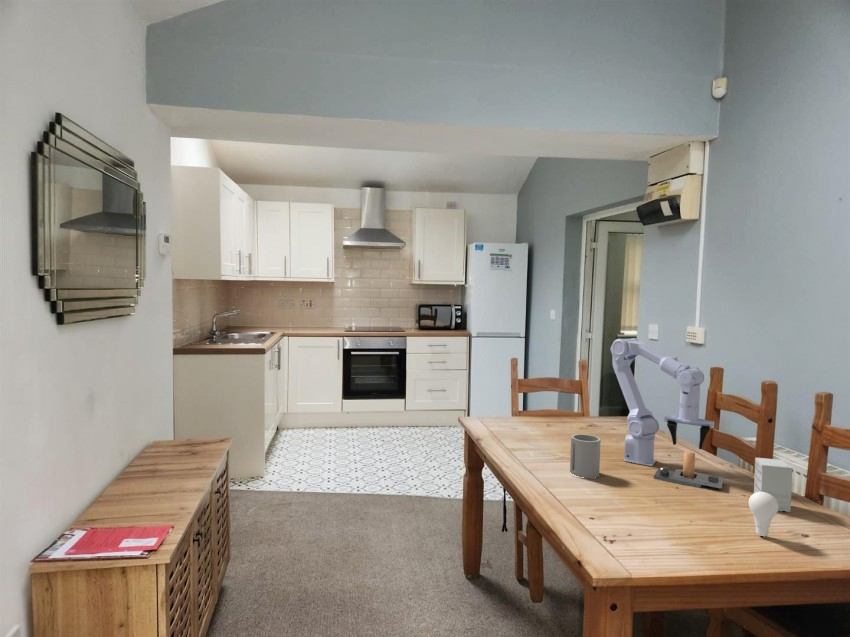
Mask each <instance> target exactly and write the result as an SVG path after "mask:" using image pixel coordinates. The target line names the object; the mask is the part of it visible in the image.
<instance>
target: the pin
mask: <svg viewBox="0 0 850 637" xmlns="http://www.w3.org/2000/svg"><path fill="white" fill-rule="evenodd" d="M695 462H696V453H694V452H692V451H684V452H683V463H682V464H683V465H682V470H683V476H684V477H690V478H694V472H695Z"/></svg>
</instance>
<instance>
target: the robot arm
mask: <svg viewBox="0 0 850 637" xmlns="http://www.w3.org/2000/svg"><path fill="white" fill-rule="evenodd" d="M609 349H610V352H611V356H612V368H613V371H614V373H615V375H616V379H617V381H618V384H619V387H620V389H621V392H622V396H623V397H624V400H625V402H626V405H627V408H628V411H629V413H628V415H627V417H626V419H627V422H628V425H627V426H628V427H627V428H628V431H629V433H630V434H626V436H625V439H624V451H623V452H624V456H623V457H624V458H623V461H624V462H626V463H631V462H632V463H633V464H637V465H638V464H639V465H643V466H649V467H653V466H654V465H655V463H656V462H657V459H656V458H654V457H655V456H654V455H655V438H656V434H657V433H658V432H659V430H660V424H659V421H658V420H657V419H656V418H655V417H654V415H653V412H652V411H651V410H650V409H648V408H647V406H646V405H645V402H644V400H643V398H642V397H643V396H642V395H641V392H640V390H639V387H638V385H637V381H636V379H635V377H634V374H633V372H632V368H631V364H632V363H633V360H635V359H636V358H637V357H638V356H641V357H643V358H645V359H647V360H649V361H651V362H653V363H655V364H657V365H659V368H660V370H661V371H662V372H664V373H665V374H667V375H668V376H670V377H672V378H673V379H675V380H677V383H678V384H679V391H680V393H679V410H678V415H671V414H670V415H669V414H664V416H663V422H665V423H666V422H667V423H666V426H667V428H668V430H669V433H670V436H671V439H672V440H671V441H672V445H673V446H676V445H677V430H678V424H682V425H690V426H695V427H700V428H699V444H698V449H699V450H702V449H703V445H704V442H705V439H706V436H707V434H708V433H709V431H710V429H715V421H714V420H707V419H704V418H703V419H702V418H700V417H699V416H700V403H701V402H700V400H701V398H700V397H701V385H702V384H703V383H704V381H705V374H704V373H703V371H702V370H701V369H700V368H699V367H691V366H690V364H688V363H685V362H682V361H681V360H679V359H678V357H677V356H673V355H672V356H671V355H668V356H665V355H663V354H662V353H660V352H658V351H657V350H656V349H653V348H652V346H651V347H650V346H649V345H648V344H646V343H645V342H644V341H642V340H640V339H638V338H636V337H633V338H617V339H615V340H614V341H613V342H612V344H611V347H610V348H609ZM632 463H631V464H632Z"/></svg>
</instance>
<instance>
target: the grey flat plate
mask: <svg viewBox="0 0 850 637" xmlns="http://www.w3.org/2000/svg"><path fill="white" fill-rule="evenodd" d="M653 479H655V480H659V481H664V482H668V483H675V484H680V485H686V486H691V487H695V488H699V487H700V489H701V488H702V486H707V487H710V488H714V489H717V488H718V489H722V488H723V485H724V477H722V476H717V475H711V474H706V473H700V472H695V471H694V478H690V477H684V476H683V469H678V468H676V469H675V471H673V470H670V467H667V466H659V468H657V470H656V471H655V473H654V475H653Z"/></svg>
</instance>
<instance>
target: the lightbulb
mask: <svg viewBox="0 0 850 637" xmlns="http://www.w3.org/2000/svg"><path fill="white" fill-rule="evenodd" d="M748 506H749V509H750V511H751V512H752V515H753V518H754V525H755V533H756V534H757V535H759V536H758V537H760V536H763V537H762V538H765V537H767V536H768V535H769V531H770V530H769V528H770V527H771V523H772V521H773V519H774V517H775V516H776V515H777V513H778V512H779V511H778V503H777V501H776V499H775V498H774V497H773V496H772V495H770V494H768V493H766V492H756V493H754V492H753V493H752V494H751V495H750V497H749V498H748Z"/></svg>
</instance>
